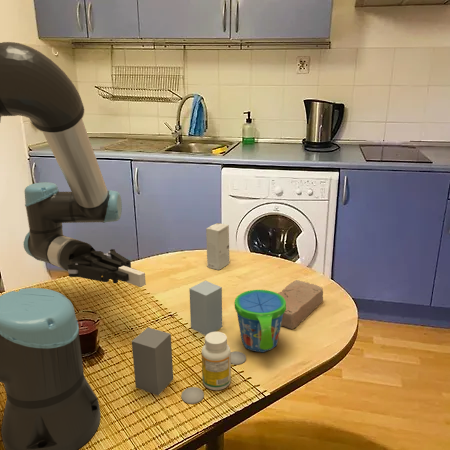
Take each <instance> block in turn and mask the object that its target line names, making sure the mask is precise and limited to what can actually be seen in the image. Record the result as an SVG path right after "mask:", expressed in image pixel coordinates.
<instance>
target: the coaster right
mask: <svg viewBox="0 0 450 450" xmlns="http://www.w3.org/2000/svg"><path fill="white" fill-rule="evenodd" d="M246 360H247V356H246V354H245V353H244V352H241V351H237V350H236V351H231V365H235V366H237V365H242V364H244V363H245V362H246Z"/></svg>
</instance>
